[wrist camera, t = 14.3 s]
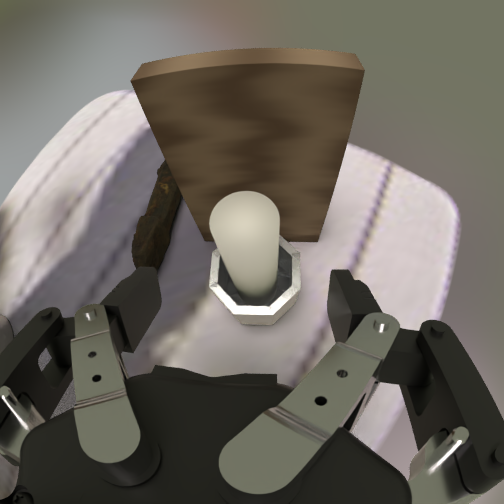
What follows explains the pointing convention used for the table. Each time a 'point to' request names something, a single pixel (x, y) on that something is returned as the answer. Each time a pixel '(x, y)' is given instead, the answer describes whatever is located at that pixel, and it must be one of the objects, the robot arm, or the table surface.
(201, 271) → the table surface
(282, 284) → the metal cup
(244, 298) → the cream white cylinder
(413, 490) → the robot arm
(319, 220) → the wooden bookend
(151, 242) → the hand tool
